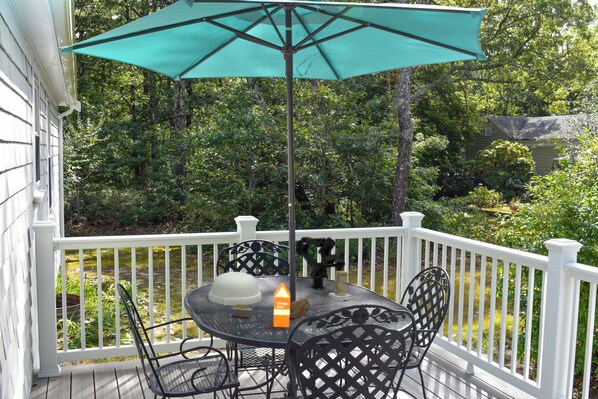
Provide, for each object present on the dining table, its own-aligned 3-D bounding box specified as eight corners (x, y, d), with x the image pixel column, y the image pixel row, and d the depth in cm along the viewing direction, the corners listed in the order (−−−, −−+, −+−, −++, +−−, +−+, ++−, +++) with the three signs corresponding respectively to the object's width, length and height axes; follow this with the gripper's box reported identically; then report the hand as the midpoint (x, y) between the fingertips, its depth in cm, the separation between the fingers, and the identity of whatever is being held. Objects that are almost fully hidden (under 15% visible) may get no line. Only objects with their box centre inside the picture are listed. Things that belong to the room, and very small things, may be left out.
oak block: (334, 293, 327) (335, 271, 326) (341, 292, 329) (343, 270, 328) (338, 295, 322) (340, 272, 322) (346, 294, 325) (347, 272, 324)
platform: (229, 312, 294) (230, 299, 293) (263, 315, 290) (263, 303, 289) (221, 318, 282) (222, 306, 281) (256, 322, 278) (256, 309, 278)
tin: (291, 320, 283) (292, 303, 282) (286, 318, 285) (287, 302, 284) (309, 313, 295) (309, 297, 294) (304, 312, 297) (305, 296, 296)
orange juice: (289, 321, 281) (290, 281, 279) (289, 327, 272) (290, 286, 270) (273, 320, 281) (274, 281, 279) (273, 326, 272) (274, 286, 270)
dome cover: (250, 308, 300) (250, 282, 299) (198, 302, 308) (199, 277, 306) (269, 294, 331) (269, 270, 329) (221, 288, 339) (222, 265, 337)
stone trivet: (328, 298, 328) (328, 293, 328) (342, 296, 333) (343, 291, 332) (337, 302, 319) (337, 297, 319) (352, 300, 324) (352, 295, 324)
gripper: (317, 249, 329) (326, 272, 321) (344, 247, 338) (353, 269, 330) (310, 259, 337) (318, 282, 329) (337, 257, 346) (345, 279, 338)
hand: (334, 278), depth 331 cm, fingers open, 9 cm apart
